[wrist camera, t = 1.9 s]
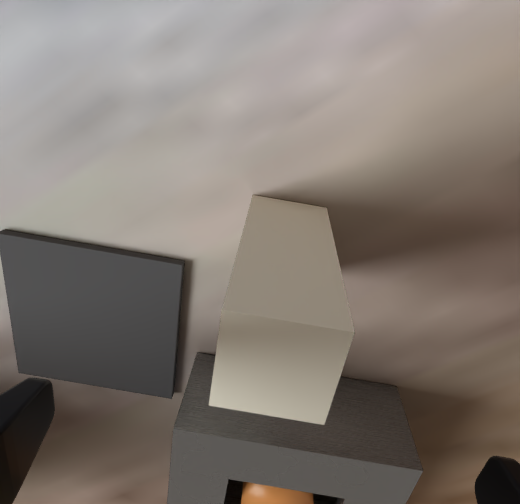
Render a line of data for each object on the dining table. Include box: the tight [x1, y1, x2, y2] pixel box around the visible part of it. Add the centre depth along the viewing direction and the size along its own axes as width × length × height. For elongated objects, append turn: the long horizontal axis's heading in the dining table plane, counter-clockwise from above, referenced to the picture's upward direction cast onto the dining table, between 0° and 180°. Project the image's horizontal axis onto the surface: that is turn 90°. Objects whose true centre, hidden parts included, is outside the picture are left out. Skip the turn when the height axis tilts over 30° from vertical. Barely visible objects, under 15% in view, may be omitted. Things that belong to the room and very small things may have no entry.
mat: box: [0, 230, 184, 399], centre depth 19 cm, size 8×8×1 cm
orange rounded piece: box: [241, 482, 314, 504], centre depth 20 cm, size 3×3×2 cm
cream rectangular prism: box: [209, 195, 355, 425], centre depth 13 cm, size 3×3×8 cm
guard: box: [167, 352, 423, 504], centre depth 20 cm, size 10×10×4 cm
